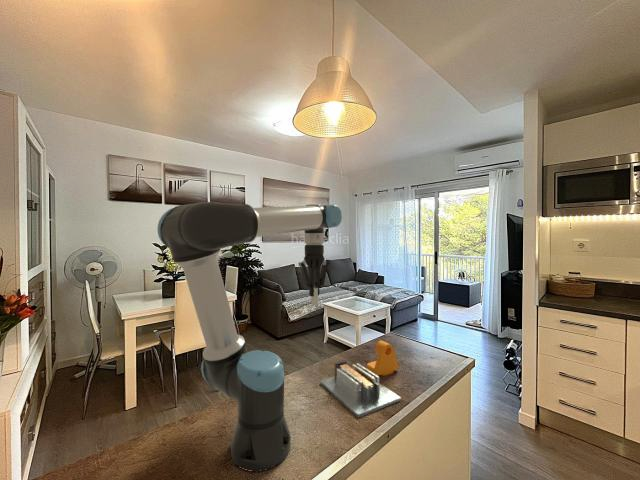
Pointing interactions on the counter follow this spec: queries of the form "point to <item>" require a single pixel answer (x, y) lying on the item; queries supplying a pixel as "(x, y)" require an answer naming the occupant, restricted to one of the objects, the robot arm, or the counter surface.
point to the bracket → (383, 360)
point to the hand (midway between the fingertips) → (314, 304)
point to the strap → (359, 376)
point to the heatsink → (359, 390)
